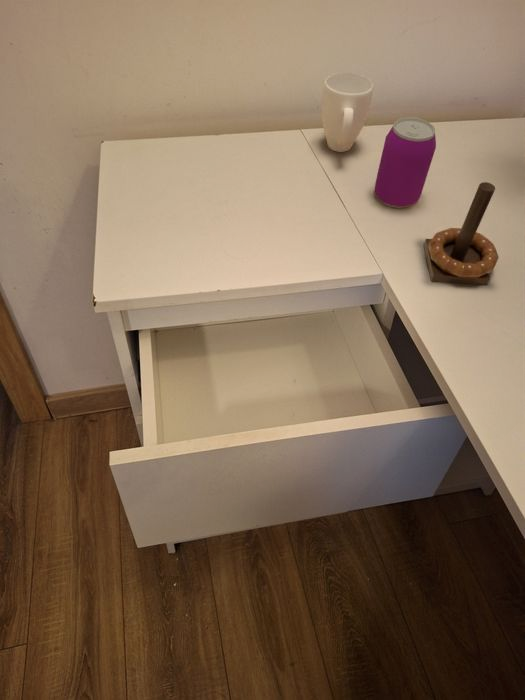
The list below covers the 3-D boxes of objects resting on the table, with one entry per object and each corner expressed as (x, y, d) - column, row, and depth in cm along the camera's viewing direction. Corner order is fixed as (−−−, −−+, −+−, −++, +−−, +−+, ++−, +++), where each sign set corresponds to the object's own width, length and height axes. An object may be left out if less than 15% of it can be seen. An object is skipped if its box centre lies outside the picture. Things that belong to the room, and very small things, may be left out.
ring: (485, 237, 78) (490, 226, 77) (501, 281, 72) (507, 271, 71) (422, 234, 78) (426, 224, 76) (433, 278, 72) (437, 268, 71)
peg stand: (476, 247, 78) (511, 170, 68) (487, 284, 73) (527, 207, 63) (423, 244, 78) (450, 167, 68) (431, 281, 74) (461, 203, 63)
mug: (317, 132, 98) (324, 70, 89) (360, 135, 98) (372, 72, 89) (316, 168, 91) (324, 103, 82) (363, 171, 90) (376, 107, 81)
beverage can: (378, 178, 89) (394, 110, 80) (422, 189, 87) (444, 121, 78) (368, 203, 84) (383, 134, 75) (414, 215, 83) (436, 146, 73)
